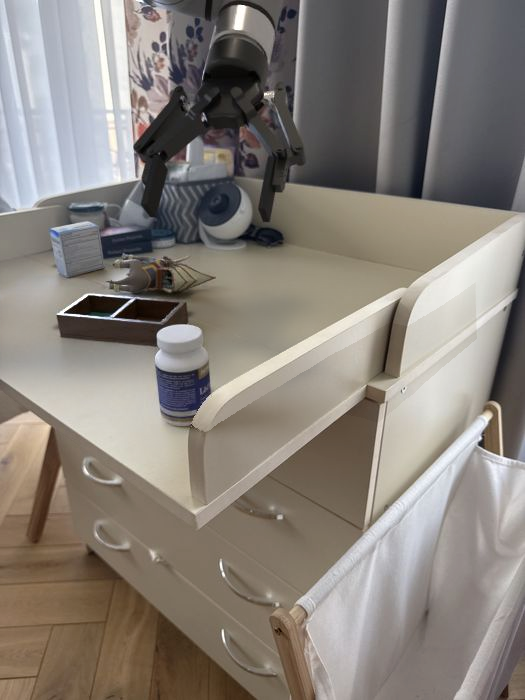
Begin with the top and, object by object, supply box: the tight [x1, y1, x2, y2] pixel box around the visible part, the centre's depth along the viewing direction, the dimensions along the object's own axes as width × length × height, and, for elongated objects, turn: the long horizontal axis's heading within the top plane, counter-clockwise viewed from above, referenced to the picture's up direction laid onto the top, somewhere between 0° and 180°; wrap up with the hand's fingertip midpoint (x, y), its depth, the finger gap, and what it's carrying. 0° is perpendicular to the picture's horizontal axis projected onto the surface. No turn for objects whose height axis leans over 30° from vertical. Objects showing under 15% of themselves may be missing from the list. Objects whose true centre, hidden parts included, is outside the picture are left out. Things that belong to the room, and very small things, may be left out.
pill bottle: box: [154, 324, 212, 427], centre depth 58 cm, size 6×6×10 cm
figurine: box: [104, 252, 217, 294], centre depth 94 cm, size 20×6×17 cm
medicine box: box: [49, 221, 106, 278], centre depth 103 cm, size 8×4×9 cm, turn 133°
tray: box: [55, 293, 189, 347], centre depth 80 cm, size 9×16×4 cm, turn 76°
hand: (204, 213), depth 60 cm, fingers open, 13 cm apart
